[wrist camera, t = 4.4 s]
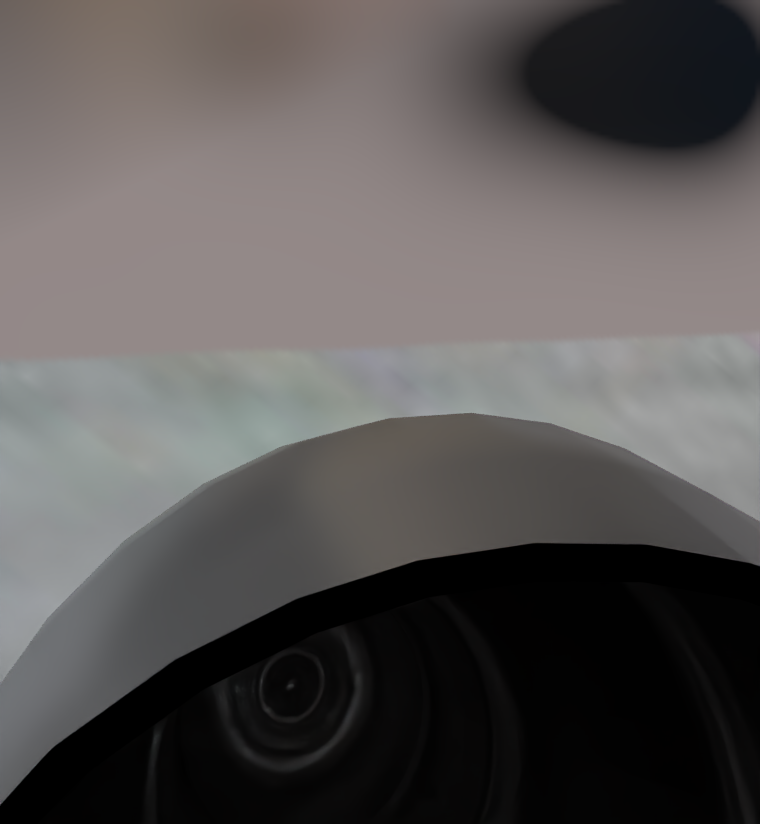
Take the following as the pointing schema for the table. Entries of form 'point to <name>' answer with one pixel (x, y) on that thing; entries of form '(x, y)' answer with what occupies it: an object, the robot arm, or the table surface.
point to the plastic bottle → (405, 644)
